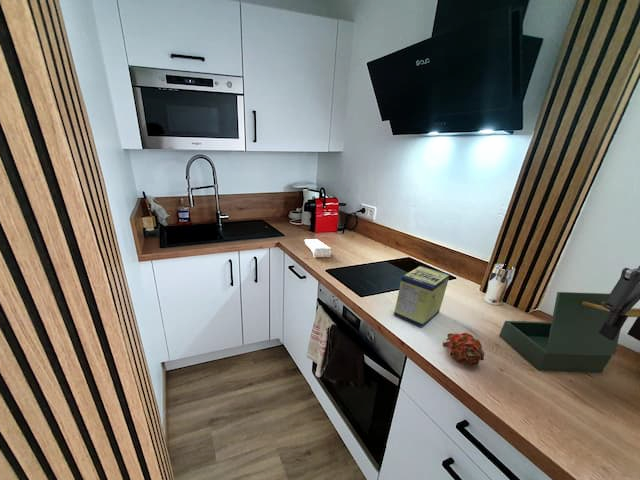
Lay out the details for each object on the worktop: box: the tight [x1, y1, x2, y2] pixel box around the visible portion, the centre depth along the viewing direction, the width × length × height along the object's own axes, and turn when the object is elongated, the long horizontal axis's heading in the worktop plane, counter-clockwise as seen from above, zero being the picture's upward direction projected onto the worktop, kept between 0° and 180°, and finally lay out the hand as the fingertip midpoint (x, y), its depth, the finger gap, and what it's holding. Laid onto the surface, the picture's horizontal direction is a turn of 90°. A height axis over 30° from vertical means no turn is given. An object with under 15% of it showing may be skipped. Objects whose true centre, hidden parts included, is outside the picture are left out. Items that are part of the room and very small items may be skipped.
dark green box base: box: [498, 320, 613, 373], centre depth 84 cm, size 16×18×6 cm
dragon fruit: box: [442, 331, 485, 367], centre depth 81 cm, size 8×8×12 cm
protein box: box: [393, 265, 451, 328], centre depth 100 cm, size 10×16×16 cm
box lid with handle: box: [546, 291, 640, 356], centre depth 70 cm, size 16×18×10 cm
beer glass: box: [482, 263, 516, 306], centre depth 111 cm, size 7×7×15 cm
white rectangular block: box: [303, 238, 332, 258], centre depth 164 cm, size 10×7×28 cm
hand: (620, 336), depth 67 cm, fingers closed on box lid with handle, 6 cm apart
